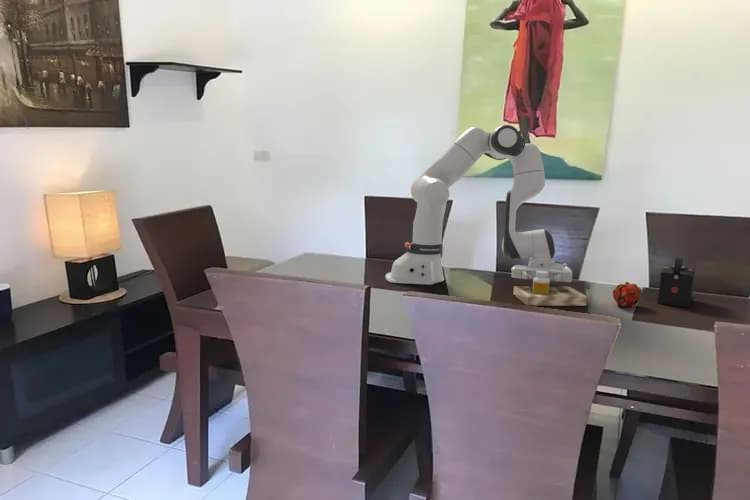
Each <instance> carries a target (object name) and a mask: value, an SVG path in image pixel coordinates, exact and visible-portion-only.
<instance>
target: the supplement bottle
mask: <svg viewBox="0 0 750 500" xmlns="http://www.w3.org/2000/svg"><path fill="white" fill-rule="evenodd" d="M547 277H548V272H546V271H536V277H535V278H534V279H533V280H532V286H533V290H532V292H534V293H539V294H549V286H551V285H550V283H551V282H550V280H549V279H548V278H547Z"/></svg>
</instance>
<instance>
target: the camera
mask: <svg viewBox="0 0 750 500" xmlns="http://www.w3.org/2000/svg"><path fill="white" fill-rule="evenodd" d="M674 260H675V261H674V264H671V265H670V266H669V265H668V266H667V265H664V266H662V268H661V271H660V274H659V275H660V276H659V278H660V279H659V284H658V285H659V287H658V288H659V289H658V294H657V303H658V304H661V305H667V306H675V307H681V308H689V307H690V304H691V303H690V302H691V301H695V297H696V291H695V290H693V284H694V283H693V282H694V276H695V270H694V269H693V268H687V265H686V266H685V265H684V266H683V258H677V257H675V259H674Z"/></svg>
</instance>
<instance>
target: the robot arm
mask: <svg viewBox="0 0 750 500" xmlns="http://www.w3.org/2000/svg"><path fill="white" fill-rule="evenodd" d="M541 154H542V153H541V151H540V149H539V147H538V146H537V145H536V144H533V143H529V142H528V143H526V141H525V139H524V138H523V136H522V134H521V133H520V132H519V131H518V129H517V128H516V127H515V126H513V125H509V124H503V125H500V126H498V127H496V128H495V129H494V130H493V131H492V132H488V131H485V130H484V129H483V128H481V127H478V126H472V127H470V128H468V129H467V130H466V131H464V132H463V133H462V134H461V135H459V137H458V138H456V139H455V141H454V142H453V143H452V144H451V145H450V146H449V147H448V148H447V150H446V151H444V153H443V154H442V155H441V156H440V157H439V158H438V159H437V160H436V161H435V162H434V163H433V164H432V165H430V166H429V167H428V168H427V169H426V170H425V171H424V172H423V173H421V175H420V176H418V177H417V178H416V179H415V180H414V181H413V182H412V184H411V187H410V193H411V196H412V199H413V200H414V202H416V210H415V215H414V219H413V222H412V242H408V241H406V242H405V243H404V246H405V248H406V252H405V253H404V254H402V255H401V256H400V257H397V259H395V260H394V261H393V263H392V265H391V266H392V267H391V271H390V272H387V273H386V274H385V280H386V281H387V282H389V283H394V284H411V285H412V284H414V285H429V286H431V285H434V284H438V283H441V282H444V280H445V278H444V272H443V264H442V263H443V262H442V257H443V255H444V254H443V253H444V252H443V251H444V247H443V245H444V244H443V243H442V242H443V241H442V239H443V225H444V217H445V212H446V208H447V202H448V201H449V198H450V190H449V188H450V187H452V186H453V185H454V184H455V183H457V182H458V181H460V180H461V179H463V177H464V176H465V175H466V173H468V172H469V170H470V169H471V168H472V167H473V166H474V165H475V163H476V162H477V161H478V160H479V159H480V158H481V157H482V156H483V155H485V156H487V157H489V158H491V159H492V160H493V159H494V160H495V161H503V160H506V159H507V160H508V161H509V162H510V163H511V167H512V171H513V184H512V187H511V188H510V189H509V190H508V191H507V193H506V196H505V197H506V198H505V208H504V209H505V210H504V228H503V237H502V241H501V248H502V253H503V256H504V257H506V258H507V259H510V260H512V261H515V260H521V259H525V258H529V261H528V265H524V264H523V265H522V264H515V265H513V266H512V267H511V269H510V271H511V276H510V277H511V278H513V279H521V280H522V279H523V280H532V281H533V279H534V278H535V277H536V271H546V272H548V277H547V278H548V279H549V280H550V283H551V282H555V283H558V282H559V283H560V282H561V283H571V282H572V280H573V271H572V269H571V268H570V267H568V264H567V263H565V262H560V261H556V260H552V259H553V258H554V257H555V254H556V249H555V241H554V238H553V236H552V233H550V231H548V230H547V229H545V228H544V229H543V228H542V229H534V230H529V231H528V230H527V231H516V220H517V219H516V217H517V209H518V208H519V206H521V205H522V204H524V203H525V202H527V201H529V200H531V199H533V198H534V197H536V196H538V195H539V194H540V193H541V192H542V190H543V189H544V187H545V182H546V176H545V168H544V163H543V159H542V155H541Z"/></svg>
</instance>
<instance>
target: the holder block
mask: <svg viewBox="0 0 750 500" xmlns="http://www.w3.org/2000/svg"><path fill="white" fill-rule="evenodd" d="M532 290H533V285H531V286H530V285H529V286H528V285H526V286H525V285H522V286H520V285H519V286H518V285H517V286H515V285H514V286H513V293H512V294H513V296H514V295H515V298H517V299H518V300H520V301H521V302H522V303H523V304H525V305H526V306H563V307H564V306H565V307H566V306H569V307H570V306H584V307H585V306H587V303H588V296H587V295H585V294H584V293H582V292H580V291H578V290H576V289H575V288H573V287H572V286H561V285H560V286H557V285H556V286H555V285H554V286H551V285H550V286H549V294H539V293H534V292H532Z"/></svg>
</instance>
